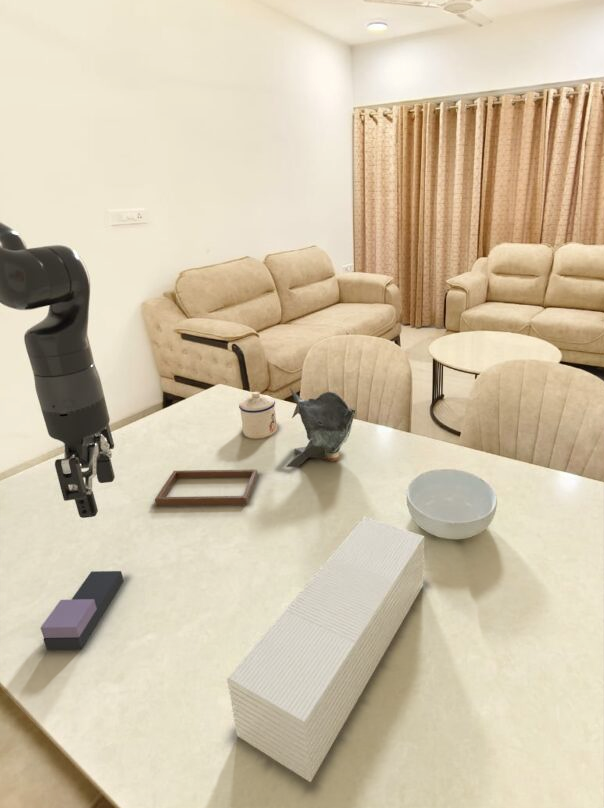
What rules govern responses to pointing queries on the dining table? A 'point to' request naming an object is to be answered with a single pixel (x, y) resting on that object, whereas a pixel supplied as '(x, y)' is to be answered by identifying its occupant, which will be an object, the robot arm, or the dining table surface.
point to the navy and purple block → (81, 612)
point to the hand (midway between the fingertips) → (98, 497)
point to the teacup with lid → (258, 416)
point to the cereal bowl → (451, 503)
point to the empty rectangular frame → (206, 500)
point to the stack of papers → (326, 646)
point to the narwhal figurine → (322, 426)
